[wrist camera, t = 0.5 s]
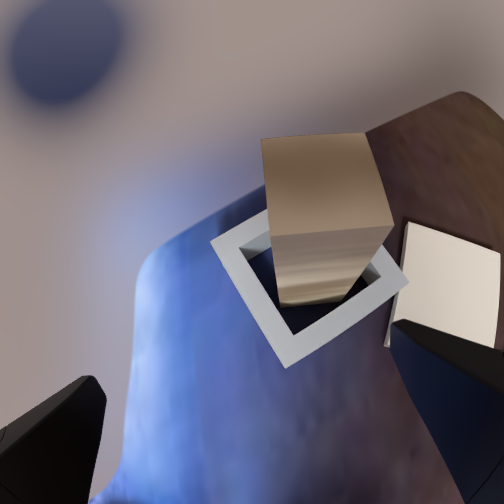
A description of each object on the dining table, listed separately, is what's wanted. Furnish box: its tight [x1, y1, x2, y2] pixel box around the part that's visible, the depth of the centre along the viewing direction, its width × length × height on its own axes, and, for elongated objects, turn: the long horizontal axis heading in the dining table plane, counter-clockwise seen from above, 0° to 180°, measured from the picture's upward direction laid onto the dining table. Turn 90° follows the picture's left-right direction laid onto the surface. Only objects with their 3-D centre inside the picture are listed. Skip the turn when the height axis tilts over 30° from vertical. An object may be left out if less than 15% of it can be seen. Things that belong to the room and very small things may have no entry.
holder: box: [210, 209, 409, 368], centre depth 21 cm, size 10×10×3 cm
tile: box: [384, 222, 500, 348], centre depth 20 cm, size 10×10×1 cm
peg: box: [261, 133, 394, 308], centre depth 17 cm, size 4×4×12 cm
